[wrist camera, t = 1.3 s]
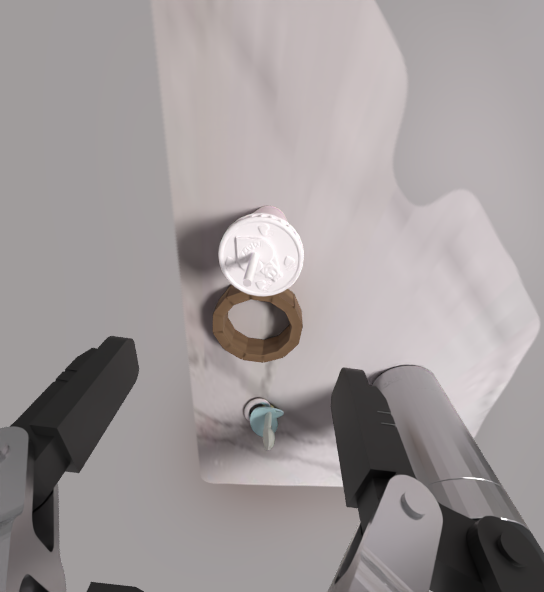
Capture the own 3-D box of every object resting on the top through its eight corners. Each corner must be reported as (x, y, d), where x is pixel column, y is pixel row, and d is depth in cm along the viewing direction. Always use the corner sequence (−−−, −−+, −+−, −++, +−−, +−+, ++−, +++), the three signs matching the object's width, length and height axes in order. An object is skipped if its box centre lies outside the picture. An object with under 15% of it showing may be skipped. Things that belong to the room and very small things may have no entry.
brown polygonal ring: (317, 310, 33) (320, 324, 30) (267, 357, 37) (265, 373, 35) (249, 261, 30) (245, 273, 27) (203, 319, 35) (196, 333, 32)
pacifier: (241, 418, 45) (275, 426, 46) (233, 455, 40) (271, 464, 40) (250, 390, 42) (286, 399, 42) (242, 427, 36) (285, 437, 37)
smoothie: (269, 176, 25) (252, 211, 13) (312, 225, 28) (330, 292, 16) (226, 222, 28) (178, 286, 16) (268, 263, 30) (254, 347, 18)
